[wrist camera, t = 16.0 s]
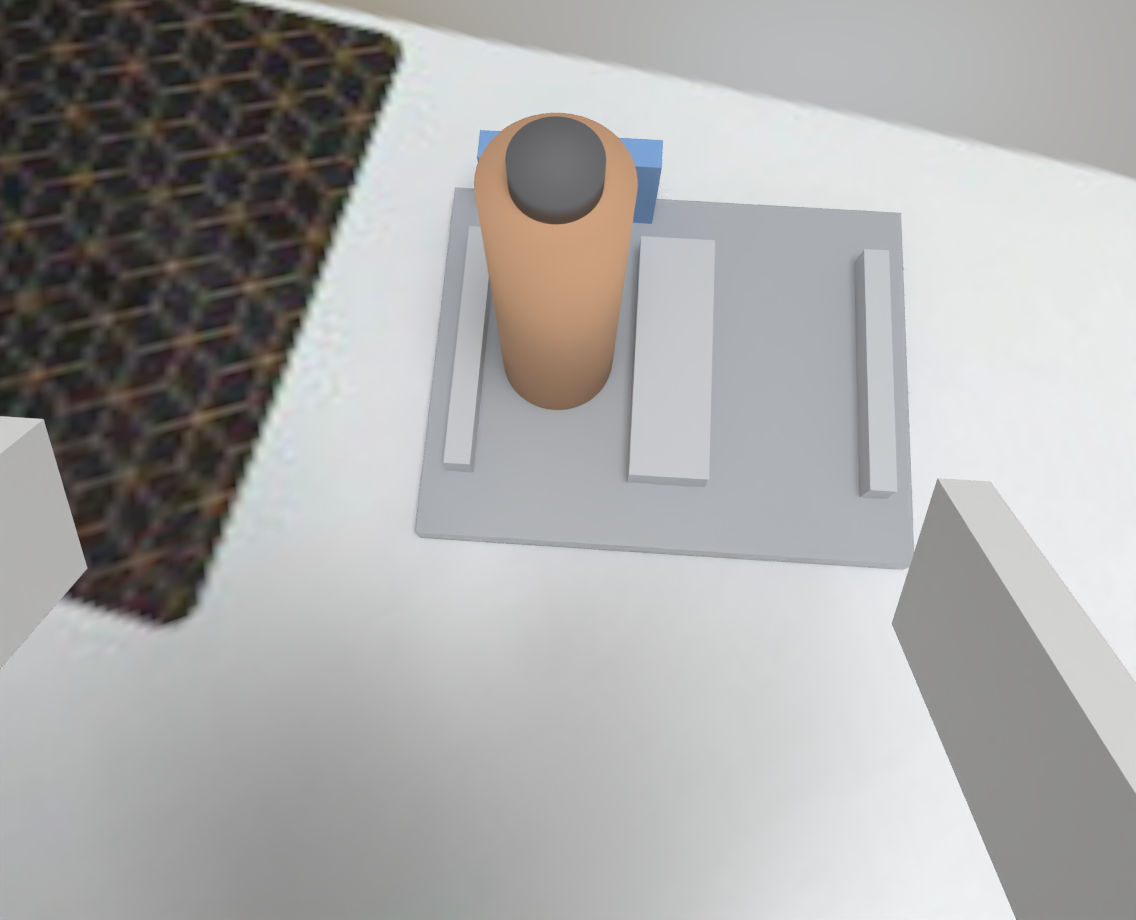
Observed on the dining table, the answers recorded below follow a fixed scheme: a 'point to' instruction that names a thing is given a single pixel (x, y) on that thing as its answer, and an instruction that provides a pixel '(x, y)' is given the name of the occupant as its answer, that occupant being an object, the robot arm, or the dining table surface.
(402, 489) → the dining table surface
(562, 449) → the gray ribbed plate
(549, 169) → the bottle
